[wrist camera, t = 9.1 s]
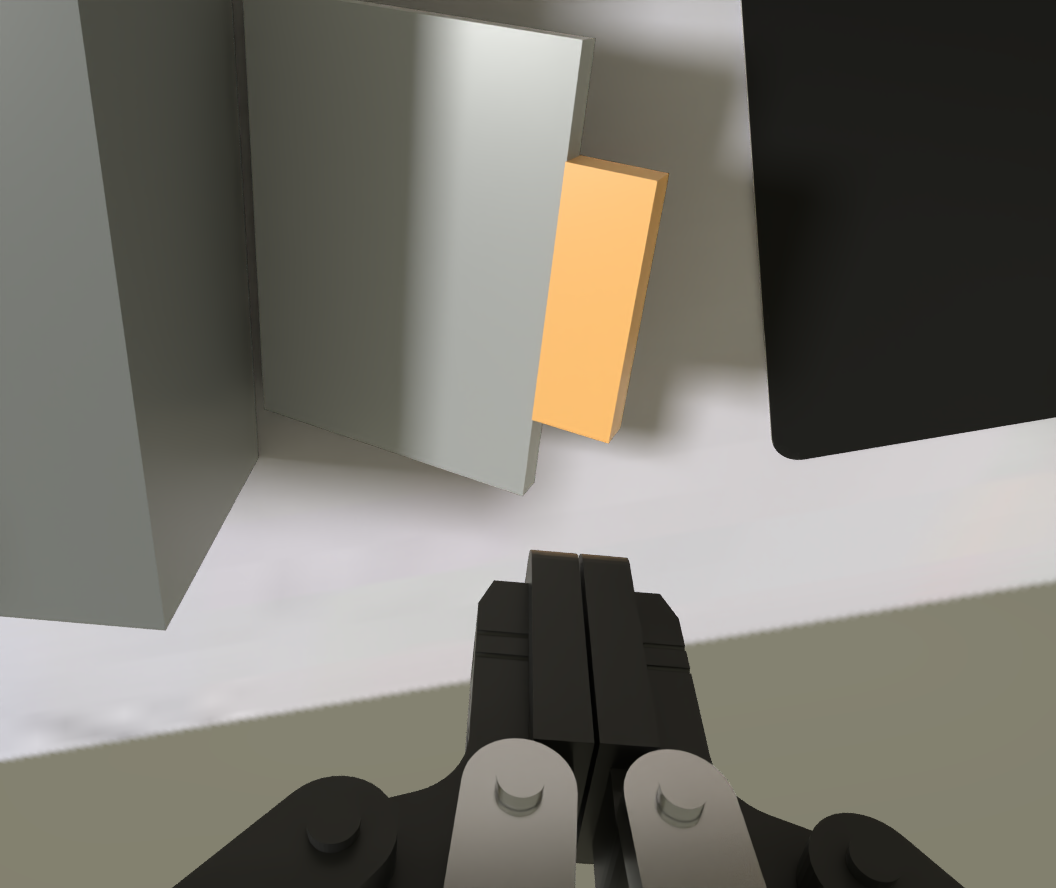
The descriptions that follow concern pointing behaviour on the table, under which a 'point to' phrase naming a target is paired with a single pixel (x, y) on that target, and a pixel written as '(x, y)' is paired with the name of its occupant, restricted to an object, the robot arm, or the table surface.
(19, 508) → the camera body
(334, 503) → the table surface
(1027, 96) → the tablet
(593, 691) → the robot arm
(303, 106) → the side door
